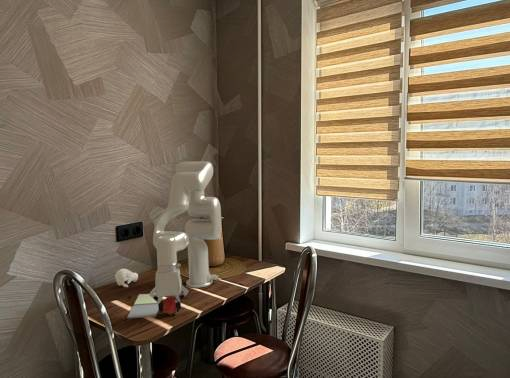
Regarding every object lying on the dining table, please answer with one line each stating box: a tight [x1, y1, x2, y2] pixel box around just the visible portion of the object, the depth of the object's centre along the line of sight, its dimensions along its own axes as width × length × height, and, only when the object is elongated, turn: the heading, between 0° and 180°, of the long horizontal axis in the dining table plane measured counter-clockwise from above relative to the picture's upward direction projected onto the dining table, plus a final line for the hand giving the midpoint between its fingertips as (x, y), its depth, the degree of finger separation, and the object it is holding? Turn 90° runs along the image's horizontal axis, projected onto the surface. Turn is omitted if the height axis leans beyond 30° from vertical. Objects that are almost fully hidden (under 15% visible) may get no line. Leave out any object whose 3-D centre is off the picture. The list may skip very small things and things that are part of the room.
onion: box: [162, 296, 177, 316], centre depth 157 cm, size 6×6×8 cm
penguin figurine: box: [114, 268, 139, 288], centre depth 193 cm, size 6×8×12 cm
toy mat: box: [126, 304, 159, 319], centre depth 161 cm, size 11×11×1 cm
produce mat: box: [133, 293, 164, 306], centre depth 173 cm, size 11×11×1 cm
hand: (169, 310), depth 157 cm, fingers closed on onion, 5 cm apart
